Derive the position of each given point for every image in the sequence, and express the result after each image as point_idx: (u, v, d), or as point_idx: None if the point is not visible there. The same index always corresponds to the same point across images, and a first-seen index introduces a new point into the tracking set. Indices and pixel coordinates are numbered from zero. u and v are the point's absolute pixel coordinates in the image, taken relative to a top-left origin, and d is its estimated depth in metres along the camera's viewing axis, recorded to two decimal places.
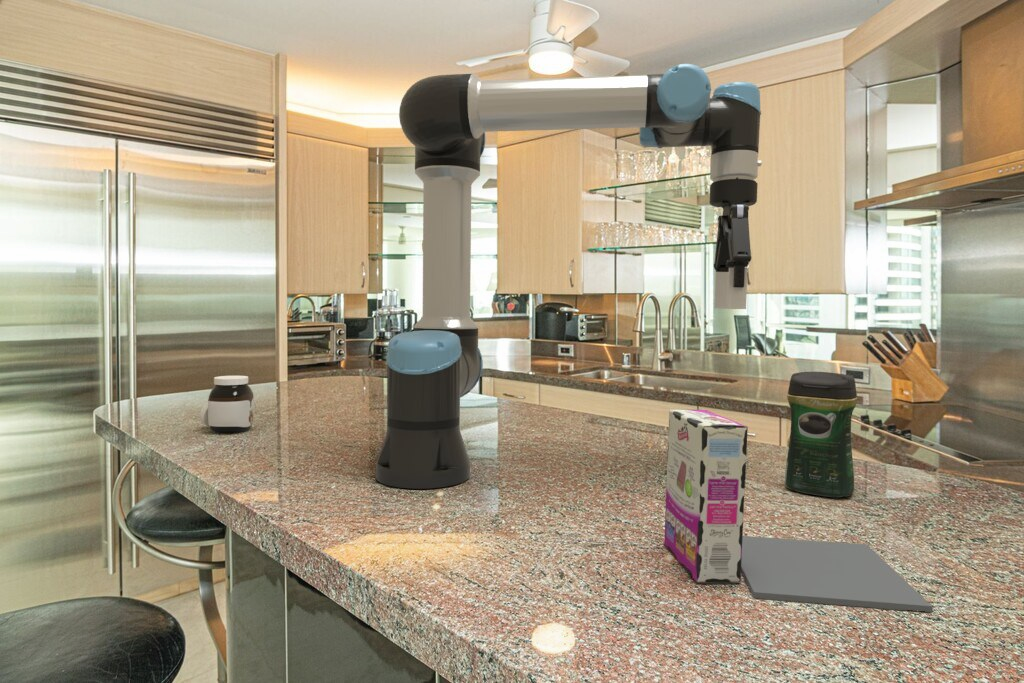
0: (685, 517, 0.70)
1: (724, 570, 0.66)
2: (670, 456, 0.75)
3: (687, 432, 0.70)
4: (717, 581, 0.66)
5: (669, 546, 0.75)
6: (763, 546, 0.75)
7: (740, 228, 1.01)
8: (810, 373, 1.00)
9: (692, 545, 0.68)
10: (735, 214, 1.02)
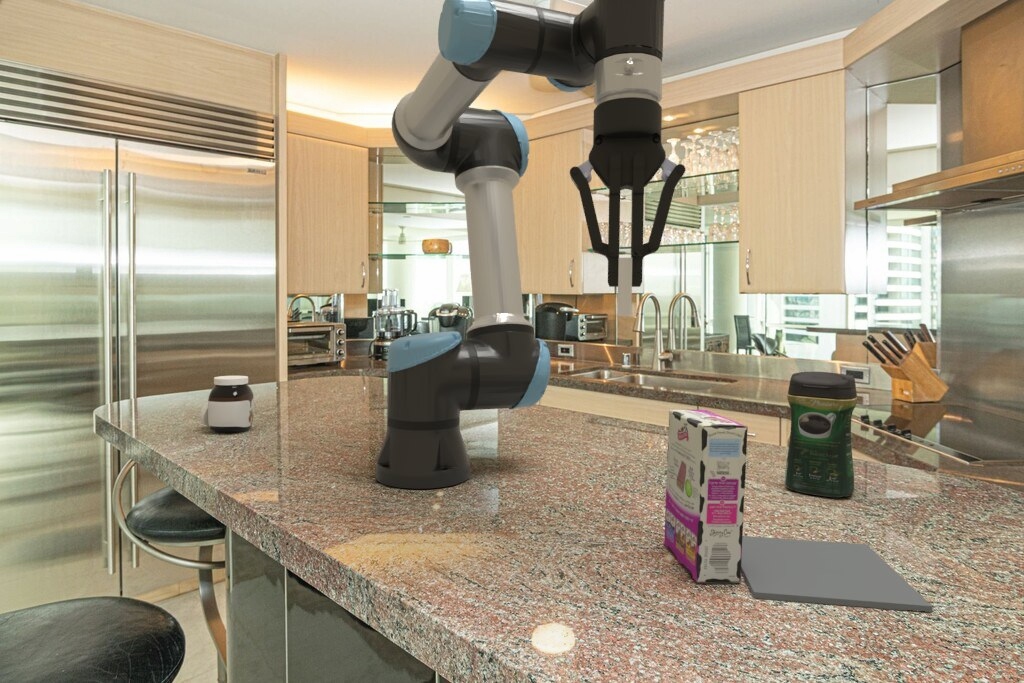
0: (685, 517, 0.70)
1: (724, 570, 0.66)
2: (670, 456, 0.75)
3: (686, 432, 0.70)
4: (717, 581, 0.66)
5: (669, 546, 0.75)
6: (763, 546, 0.75)
7: None
8: (810, 373, 1.00)
9: (692, 545, 0.68)
10: (576, 186, 0.74)
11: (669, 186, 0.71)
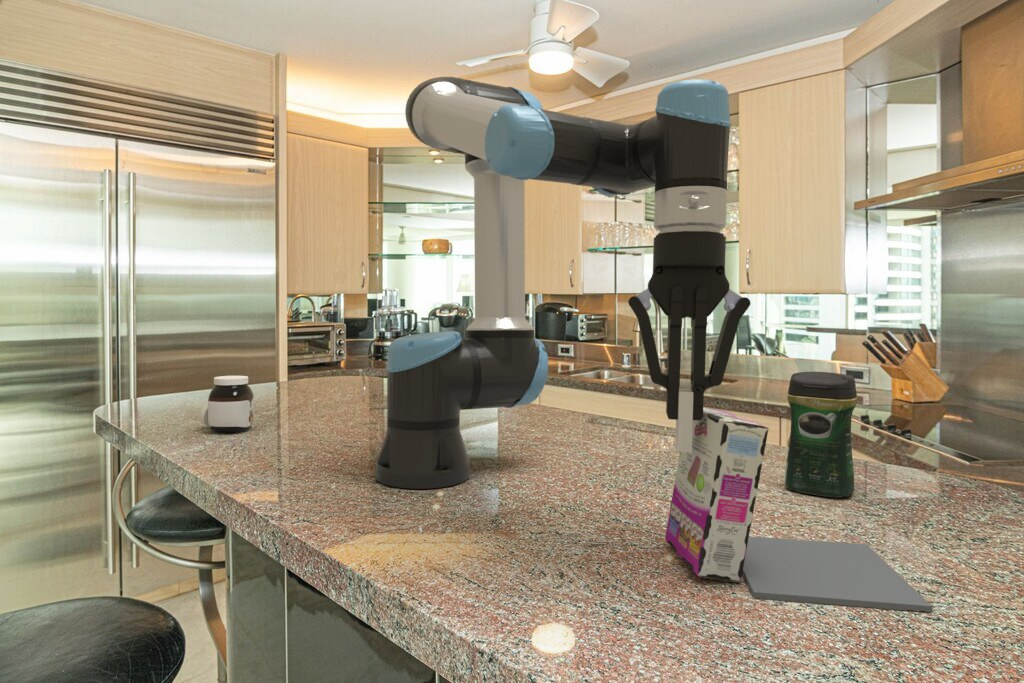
0: (693, 511, 0.70)
1: (727, 568, 0.66)
2: None
3: (705, 427, 0.70)
4: (718, 577, 0.66)
5: (670, 541, 0.75)
6: (763, 546, 0.75)
7: (641, 334, 0.71)
8: (810, 373, 1.00)
9: (697, 539, 0.68)
10: None
11: (733, 320, 0.68)
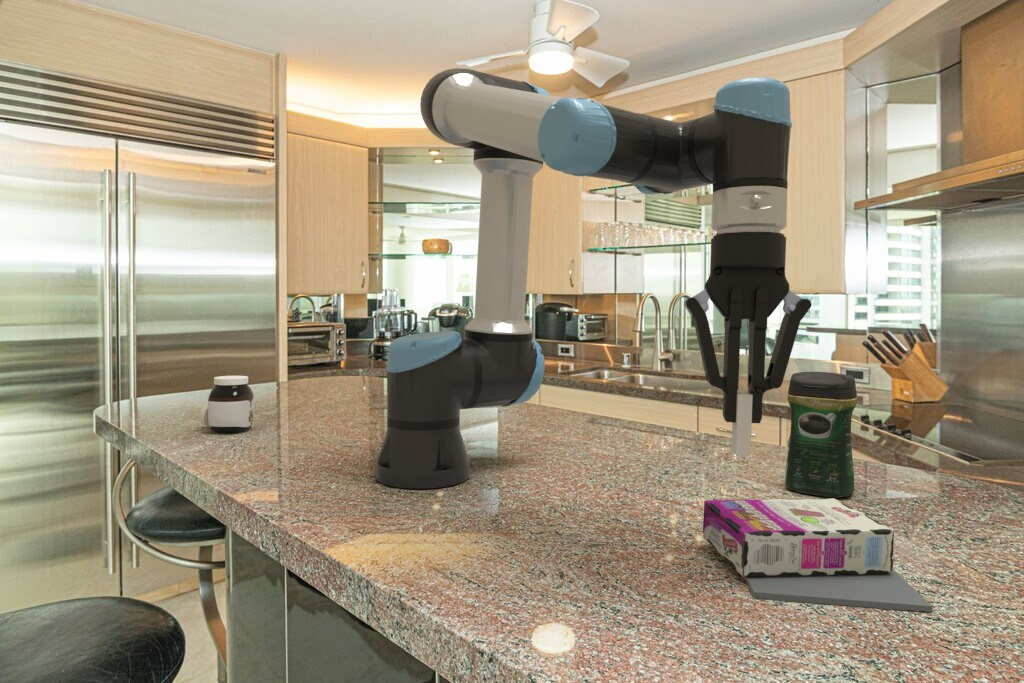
0: (778, 519, 0.70)
1: (755, 560, 0.66)
2: (798, 501, 0.76)
3: (855, 515, 0.71)
4: (744, 553, 0.66)
5: (715, 505, 0.75)
6: None
7: (698, 336, 0.70)
8: (810, 373, 1.00)
9: (767, 526, 0.68)
10: (690, 314, 0.71)
11: (793, 321, 0.68)
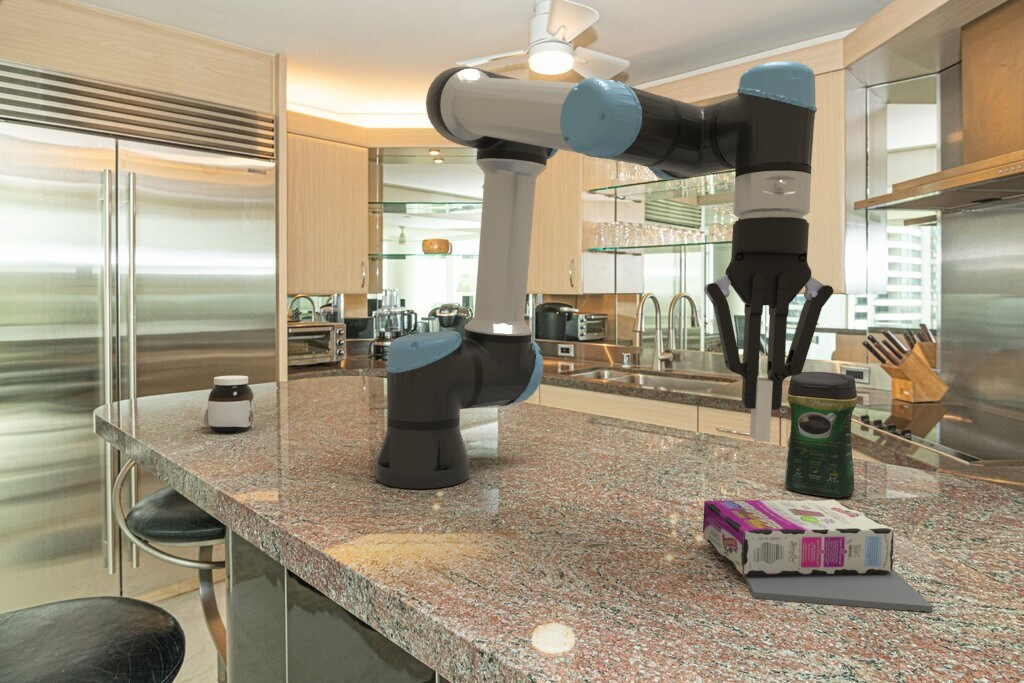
0: (778, 518, 0.70)
1: (755, 558, 0.66)
2: (797, 502, 0.76)
3: (855, 515, 0.72)
4: (744, 551, 0.66)
5: (715, 505, 0.75)
6: None
7: (718, 322, 0.70)
8: (810, 373, 1.00)
9: (767, 525, 0.68)
10: (711, 300, 0.71)
11: (815, 308, 0.67)
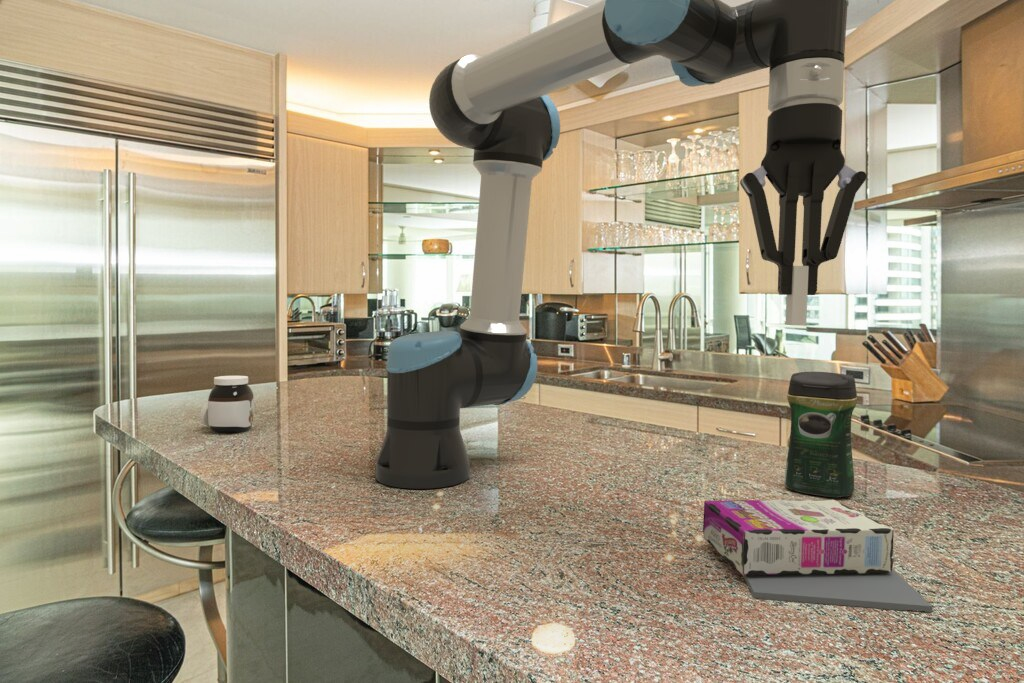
0: (778, 518, 0.70)
1: (755, 558, 0.66)
2: (797, 502, 0.76)
3: (855, 515, 0.72)
4: (744, 551, 0.66)
5: (715, 505, 0.75)
6: None
7: (754, 212, 0.73)
8: (810, 373, 1.00)
9: (767, 525, 0.68)
10: (747, 192, 0.73)
11: (849, 193, 0.70)
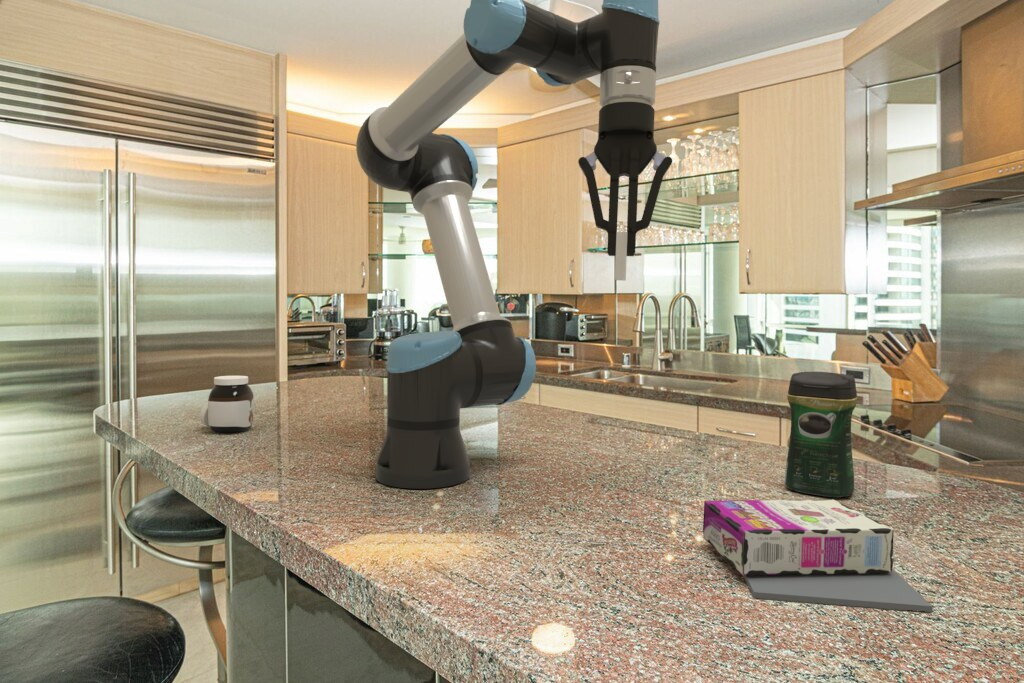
0: (778, 518, 0.70)
1: (755, 558, 0.66)
2: (797, 502, 0.76)
3: (855, 515, 0.72)
4: (744, 551, 0.66)
5: (715, 505, 0.75)
6: None
7: None
8: (810, 373, 1.00)
9: (767, 525, 0.68)
10: None
11: (659, 174, 0.88)
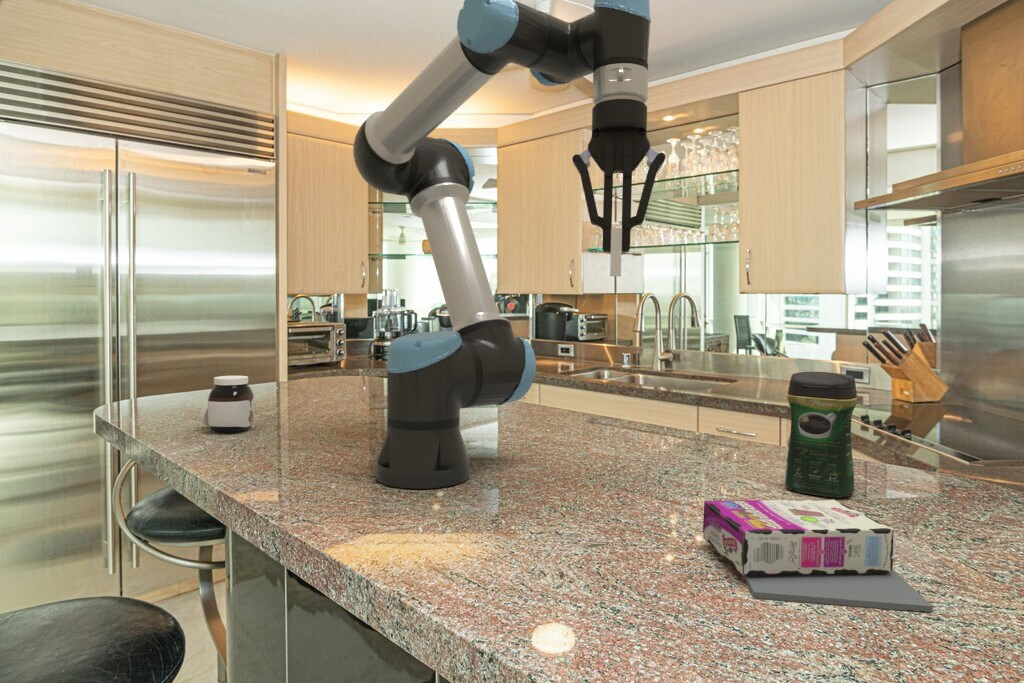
0: (778, 518, 0.70)
1: (755, 558, 0.66)
2: (797, 502, 0.76)
3: (855, 515, 0.72)
4: (744, 551, 0.66)
5: (715, 505, 0.75)
6: None
7: None
8: (810, 373, 1.00)
9: (767, 525, 0.68)
10: (578, 170, 0.92)
11: (652, 170, 0.88)
